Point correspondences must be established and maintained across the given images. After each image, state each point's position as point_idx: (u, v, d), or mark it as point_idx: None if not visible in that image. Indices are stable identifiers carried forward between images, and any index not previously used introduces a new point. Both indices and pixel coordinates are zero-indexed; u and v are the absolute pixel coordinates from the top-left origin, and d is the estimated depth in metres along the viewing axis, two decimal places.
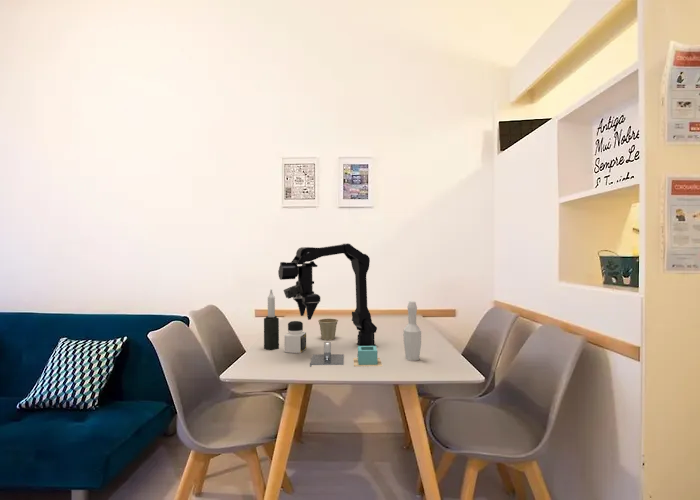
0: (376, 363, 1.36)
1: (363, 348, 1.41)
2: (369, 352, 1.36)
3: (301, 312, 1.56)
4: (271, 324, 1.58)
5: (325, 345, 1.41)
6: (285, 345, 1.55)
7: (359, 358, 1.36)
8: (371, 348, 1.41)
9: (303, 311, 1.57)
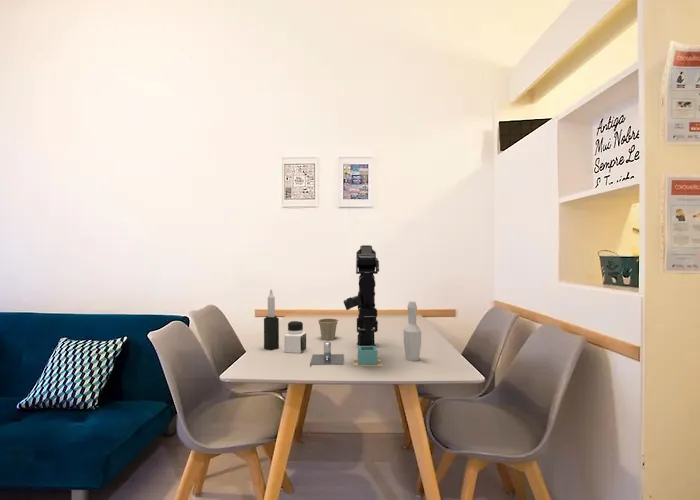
0: (376, 363, 1.36)
1: (363, 348, 1.41)
2: (369, 352, 1.36)
3: (365, 325, 1.44)
4: (271, 324, 1.58)
5: (325, 345, 1.41)
6: (285, 345, 1.55)
7: (359, 358, 1.36)
8: (371, 348, 1.41)
9: None
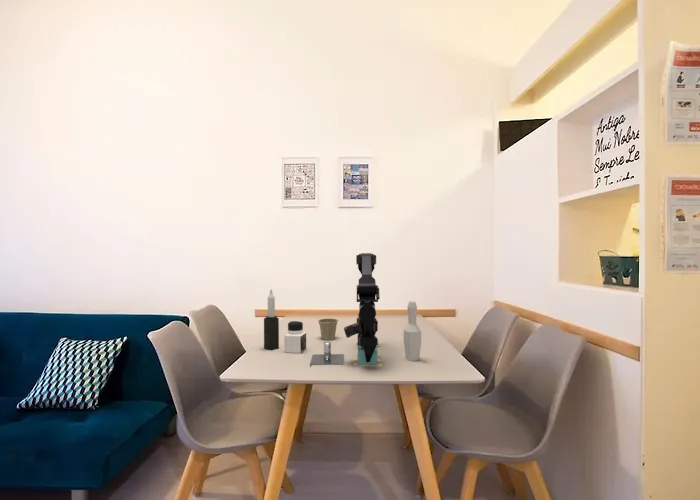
0: (376, 363, 1.36)
1: (363, 348, 1.41)
2: None
3: None
4: (271, 324, 1.58)
5: (325, 345, 1.41)
6: (285, 345, 1.55)
7: (359, 358, 1.36)
8: None
9: None
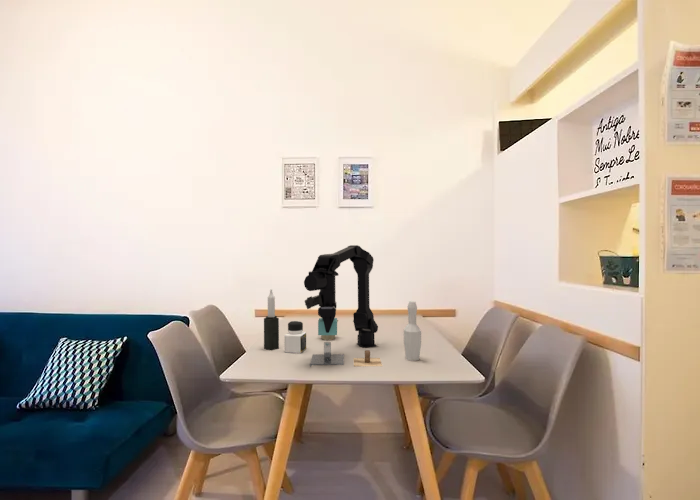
0: (335, 333, 1.39)
1: None
2: None
3: None
4: (271, 324, 1.58)
5: (325, 345, 1.41)
6: (285, 345, 1.55)
7: (319, 329, 1.38)
8: None
9: None
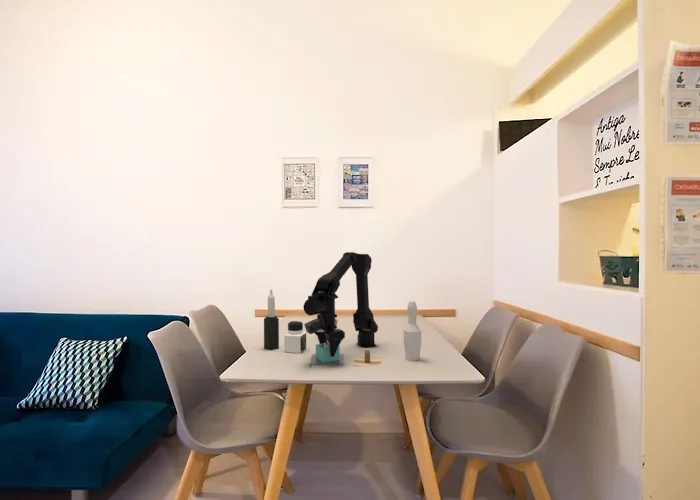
0: (338, 358, 1.40)
1: (322, 346, 1.43)
2: None
3: None
4: (271, 324, 1.58)
5: (325, 345, 1.41)
6: (285, 345, 1.55)
7: (323, 355, 1.38)
8: None
9: None
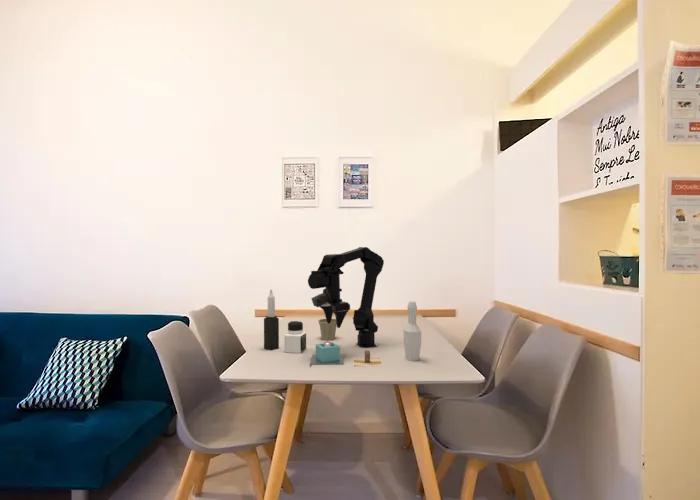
0: (338, 358, 1.40)
1: (322, 346, 1.43)
2: (332, 348, 1.39)
3: (327, 320, 1.55)
4: (271, 324, 1.58)
5: (325, 345, 1.41)
6: (285, 345, 1.55)
7: (323, 355, 1.38)
8: None
9: (330, 319, 1.55)
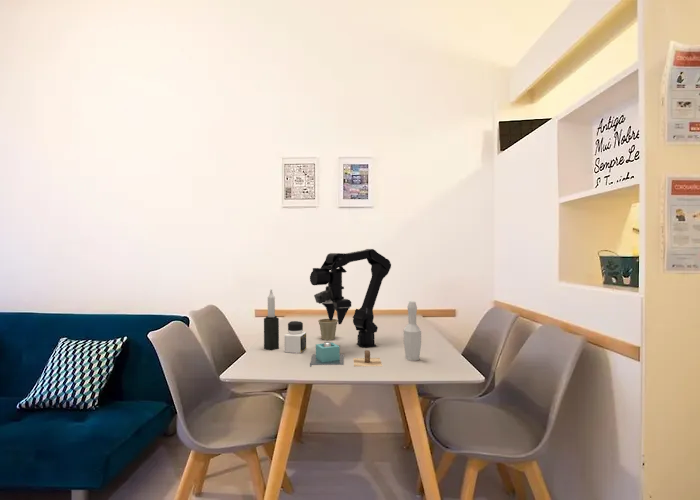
0: (338, 358, 1.40)
1: (322, 346, 1.43)
2: (332, 348, 1.39)
3: (329, 317, 1.59)
4: (271, 324, 1.58)
5: (325, 345, 1.41)
6: (285, 345, 1.55)
7: (323, 355, 1.38)
8: None
9: (332, 316, 1.60)
